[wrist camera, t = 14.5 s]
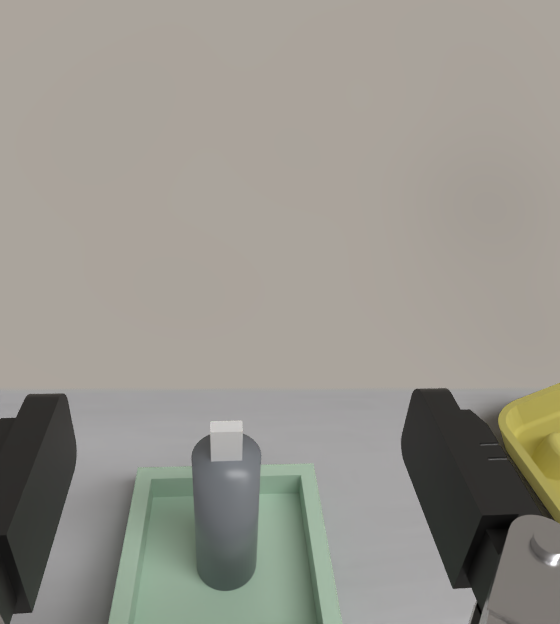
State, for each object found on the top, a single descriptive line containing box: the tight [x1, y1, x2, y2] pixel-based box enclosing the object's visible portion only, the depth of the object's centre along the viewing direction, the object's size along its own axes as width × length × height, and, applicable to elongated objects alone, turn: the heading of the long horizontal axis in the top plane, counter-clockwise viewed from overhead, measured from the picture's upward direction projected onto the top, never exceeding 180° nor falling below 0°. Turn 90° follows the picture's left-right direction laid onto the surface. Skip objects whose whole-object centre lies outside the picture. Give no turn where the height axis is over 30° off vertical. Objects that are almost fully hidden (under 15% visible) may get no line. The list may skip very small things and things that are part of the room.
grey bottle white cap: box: [192, 421, 261, 591], centre depth 29 cm, size 4×4×11 cm
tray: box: [108, 464, 342, 624], centre depth 32 cm, size 12×12×3 cm
